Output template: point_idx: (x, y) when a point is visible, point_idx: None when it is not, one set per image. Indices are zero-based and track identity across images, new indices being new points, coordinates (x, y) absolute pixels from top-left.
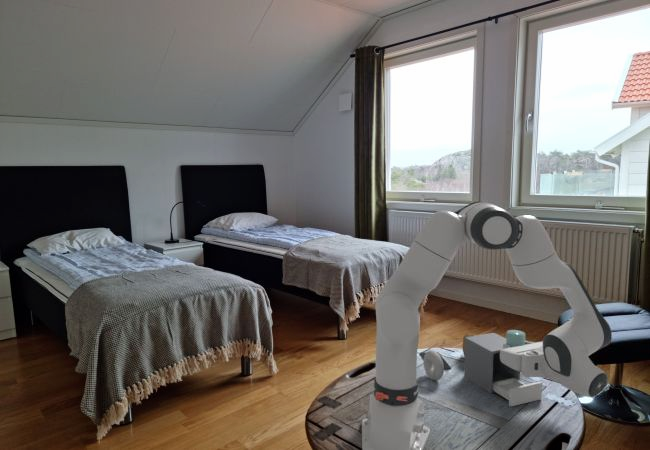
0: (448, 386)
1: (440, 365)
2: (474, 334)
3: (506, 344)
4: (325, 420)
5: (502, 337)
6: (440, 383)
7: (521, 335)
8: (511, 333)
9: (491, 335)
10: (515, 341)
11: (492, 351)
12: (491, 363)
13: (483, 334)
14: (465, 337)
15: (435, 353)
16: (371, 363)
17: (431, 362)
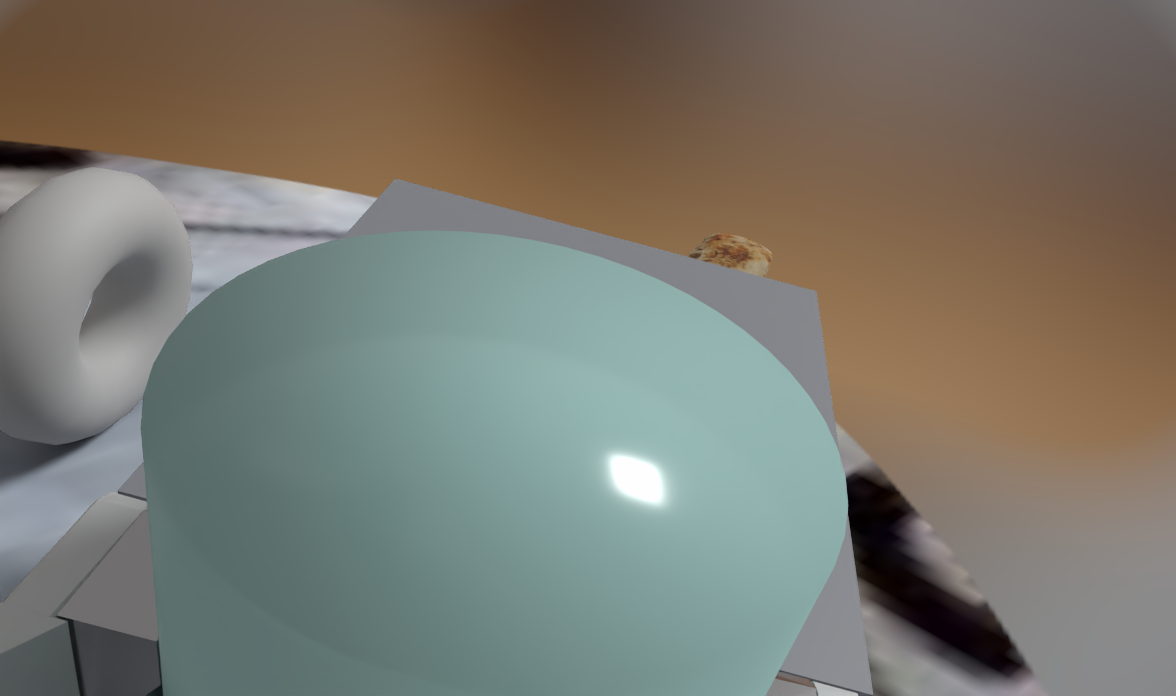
0: (34, 544)
1: None
2: (758, 259)
3: (88, 554)
4: None
5: (813, 385)
6: (53, 479)
7: (438, 618)
8: (333, 331)
9: (723, 300)
10: (172, 666)
11: (141, 495)
12: None
13: (660, 251)
14: (395, 179)
15: (42, 199)
16: (69, 151)
17: (124, 281)
